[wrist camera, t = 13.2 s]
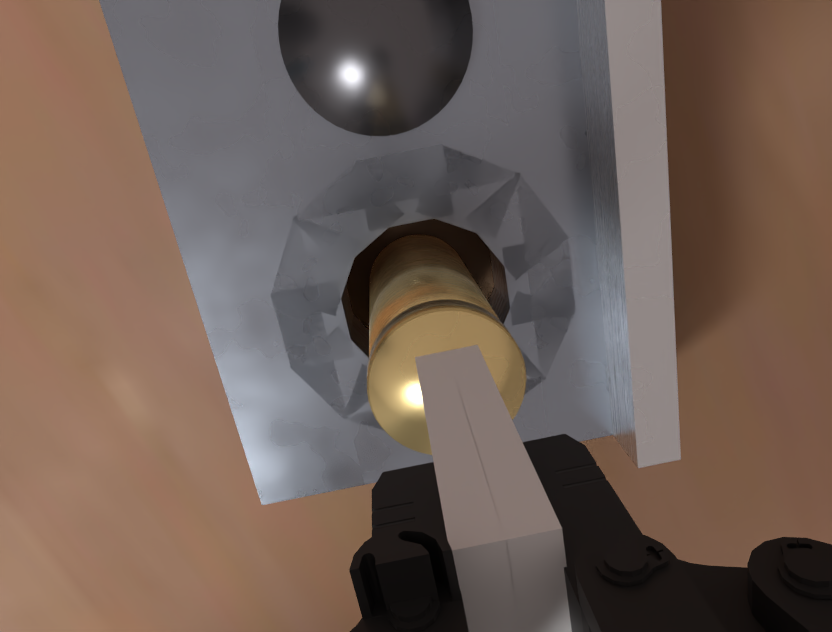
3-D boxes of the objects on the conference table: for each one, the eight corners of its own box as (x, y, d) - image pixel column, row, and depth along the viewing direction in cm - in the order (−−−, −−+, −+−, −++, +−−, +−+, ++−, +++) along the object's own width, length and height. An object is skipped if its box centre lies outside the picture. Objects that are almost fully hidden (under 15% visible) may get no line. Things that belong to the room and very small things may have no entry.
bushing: (379, 337, 25) (384, 470, 16) (358, 244, 24) (350, 327, 14) (474, 319, 25) (535, 440, 16) (459, 224, 24) (516, 295, 14)
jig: (273, 463, 27) (250, 545, 22) (99, -103, 20) (4, -180, 15) (622, 394, 27) (680, 459, 22) (576, -195, 20) (648, -303, 15)
